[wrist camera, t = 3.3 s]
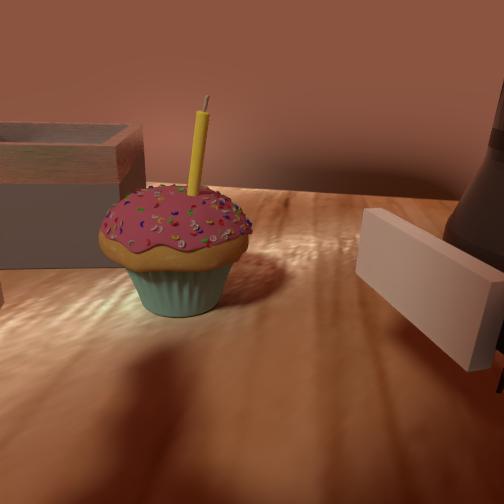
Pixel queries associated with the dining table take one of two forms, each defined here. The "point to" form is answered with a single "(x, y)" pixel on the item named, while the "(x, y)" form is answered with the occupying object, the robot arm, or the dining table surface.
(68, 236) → the gray open box
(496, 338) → the robot arm
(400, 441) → the dining table surface
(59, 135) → the collar
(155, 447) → the dining table surface
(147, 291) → the cupcake
